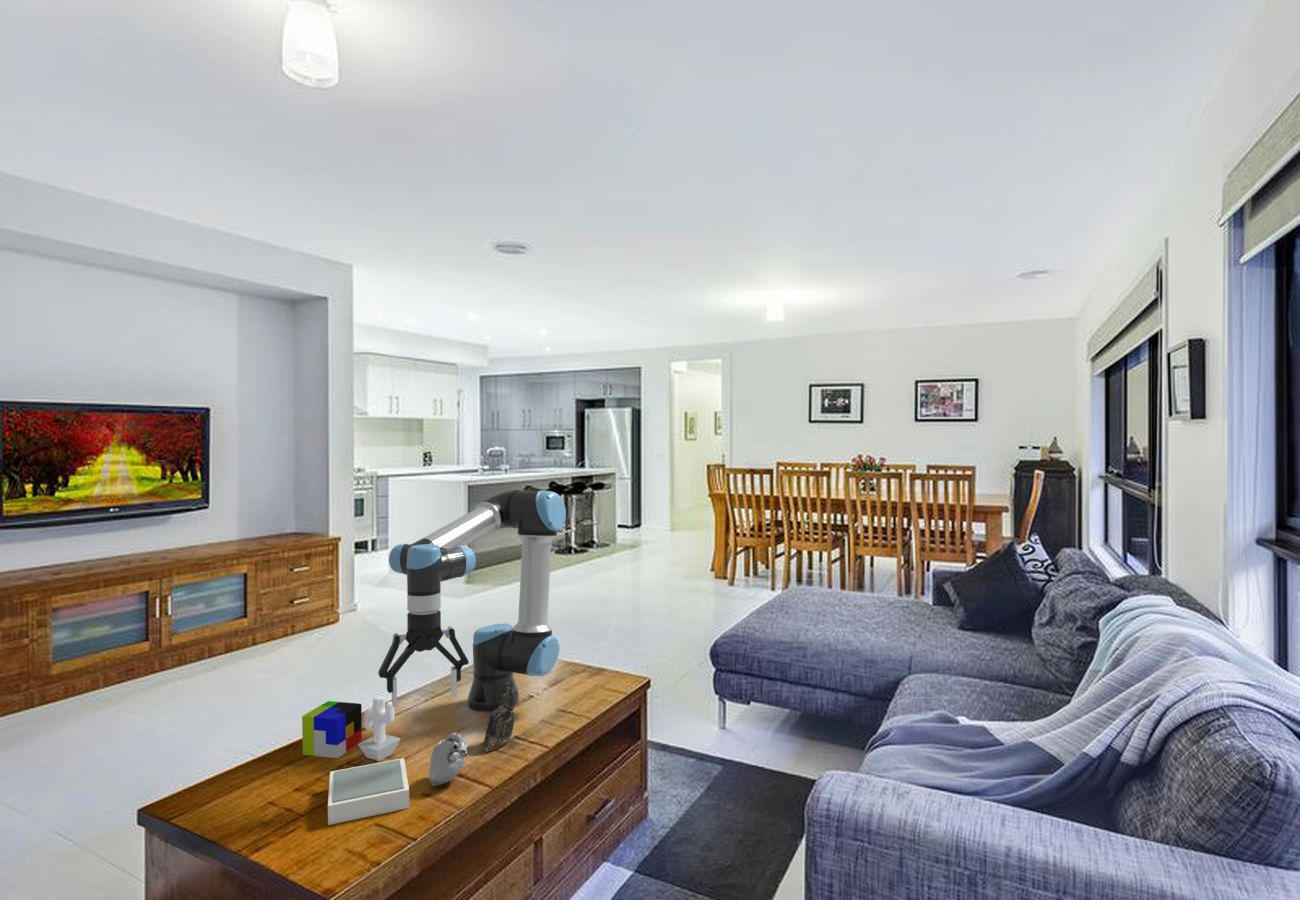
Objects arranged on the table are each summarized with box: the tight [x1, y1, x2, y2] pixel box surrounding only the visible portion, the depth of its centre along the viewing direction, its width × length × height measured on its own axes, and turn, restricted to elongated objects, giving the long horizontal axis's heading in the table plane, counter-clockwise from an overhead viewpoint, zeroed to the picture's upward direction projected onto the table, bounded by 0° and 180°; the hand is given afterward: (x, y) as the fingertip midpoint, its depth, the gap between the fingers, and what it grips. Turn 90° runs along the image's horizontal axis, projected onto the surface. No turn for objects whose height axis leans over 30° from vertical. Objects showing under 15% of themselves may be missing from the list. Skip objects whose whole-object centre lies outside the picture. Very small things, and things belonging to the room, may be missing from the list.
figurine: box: [357, 695, 402, 762], centre depth 173 cm, size 7×9×15 cm
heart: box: [428, 731, 469, 787], centre depth 160 cm, size 10×10×12 cm
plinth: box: [327, 757, 410, 826], centre depth 152 cm, size 16×16×4 cm
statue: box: [482, 682, 515, 752], centre depth 179 cm, size 6×12×15 cm, turn 155°
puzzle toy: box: [301, 700, 363, 759], centre depth 177 cm, size 10×10×10 cm
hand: (424, 700), depth 161 cm, fingers open, 13 cm apart
